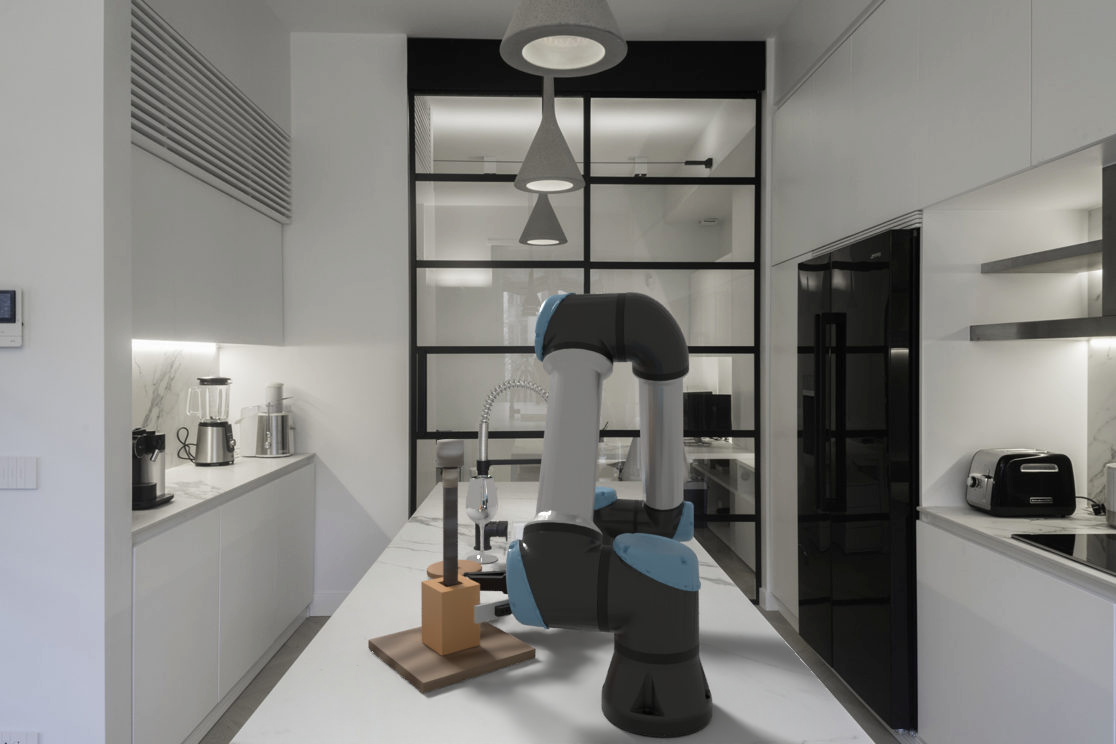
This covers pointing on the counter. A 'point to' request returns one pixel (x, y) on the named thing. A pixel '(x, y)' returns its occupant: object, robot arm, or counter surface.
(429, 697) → the counter surface
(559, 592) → the robot arm
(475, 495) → the wineglass
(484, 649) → the stand
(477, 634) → the sleeve
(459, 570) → the lidded jar
